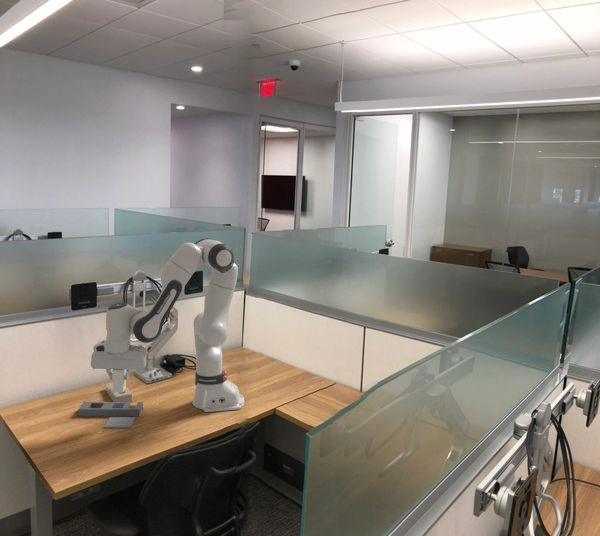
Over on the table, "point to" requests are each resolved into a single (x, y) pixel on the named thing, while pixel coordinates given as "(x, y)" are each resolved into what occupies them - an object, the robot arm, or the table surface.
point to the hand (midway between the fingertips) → (119, 379)
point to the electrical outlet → (118, 394)
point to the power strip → (110, 409)
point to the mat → (119, 422)
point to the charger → (118, 380)
